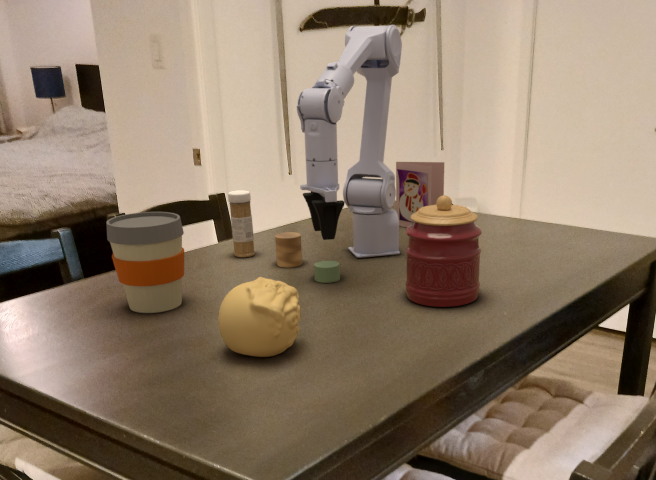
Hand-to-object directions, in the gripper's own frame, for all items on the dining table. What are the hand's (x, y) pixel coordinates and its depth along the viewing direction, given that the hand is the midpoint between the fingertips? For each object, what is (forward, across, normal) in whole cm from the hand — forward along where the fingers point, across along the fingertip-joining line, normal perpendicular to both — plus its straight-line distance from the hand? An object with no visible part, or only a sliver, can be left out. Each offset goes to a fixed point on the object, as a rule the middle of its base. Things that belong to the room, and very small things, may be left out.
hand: (324, 234), depth 142 cm
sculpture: (+10, +32, -17) cm, 37 cm away
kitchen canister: (+9, +17, +17) cm, 26 cm away
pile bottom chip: (+8, -13, -5) cm, 16 cm away
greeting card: (+8, -35, +31) cm, 48 cm away
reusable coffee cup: (+9, +5, -32) cm, 33 cm away
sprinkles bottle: (+9, -23, -13) cm, 28 cm away
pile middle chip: (+5, -13, -5) cm, 15 cm away
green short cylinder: (+9, 0, 0) cm, 9 cm away
